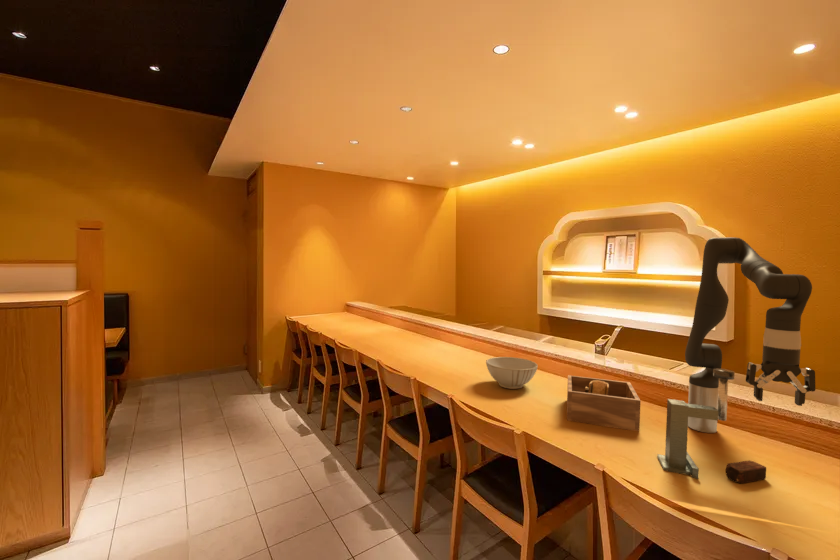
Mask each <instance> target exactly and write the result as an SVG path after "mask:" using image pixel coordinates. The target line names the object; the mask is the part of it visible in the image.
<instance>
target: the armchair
mask: <svg viewBox="0 0 840 560" xmlns="http://www.w3.org/2000/svg"><path fill="white" fill-rule="evenodd" d="M608 392H609V384H608V383H606V382H603V381H599V380H596V381H594V380H593V381H591V382H590V383H589V388H588V387H587V386H586V387H585V393H593V394H601V395H608Z"/></svg>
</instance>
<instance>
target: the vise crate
mask: <svg viewBox="0 0 840 560" xmlns="http://www.w3.org/2000/svg"><path fill="white" fill-rule="evenodd" d="M593 380H594V381H596V380H599V381H603V382H606V383H608V384H609V392H608V395H601V394H593V393H585V387H586V386H587V387H588V388H589V383H590V382H591V381H593ZM566 391H567V393H566V421H569V422H575V423H576V422H577V423H583V424H588V425H595V426H601V427H608V428H615V429H622V430H627V431H628V430H629V431H635V432H640V430H641V429H640V424H641V423H640V422H641V399H640V397H639V395H638V394H637V392H636V390H635V388H634V387H633V385H632V383H631V382H630V381H622V380H612V379H605V378H598V377H597V378H596V377H587V376H580V375H571V374H568V375H567V390H566Z"/></svg>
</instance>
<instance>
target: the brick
mask: <svg viewBox="0 0 840 560" xmlns="http://www.w3.org/2000/svg"><path fill="white" fill-rule="evenodd" d="M725 475H726V477H727V478H728V479H729V480H731V481H733V482H736V483H738V484H746V483H753V482H758V481H761V480H765V479H766V478H767V477H766V476H767V467H766V466H765V465H762V464H760V463H758V462H756V461H755V460H754V461H753V460H750V459H748V460H742V461H735V462H730V463H727V464H726V467H725Z"/></svg>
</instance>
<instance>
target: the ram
mask: <svg viewBox="0 0 840 560" xmlns="http://www.w3.org/2000/svg"><path fill="white" fill-rule="evenodd" d="M735 372H736V371H734V370H731V369H726V368H721V369H718V368H716V369H714V370H713V376H714V377H717V378H719V389H718V421H722V422H723V421H724V422H726V421H727V417H728V416H727V413H728V412H727V411H728V395H729V394H728V391H729V380H731V381H733V380H735V374H736V373H735Z"/></svg>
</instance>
